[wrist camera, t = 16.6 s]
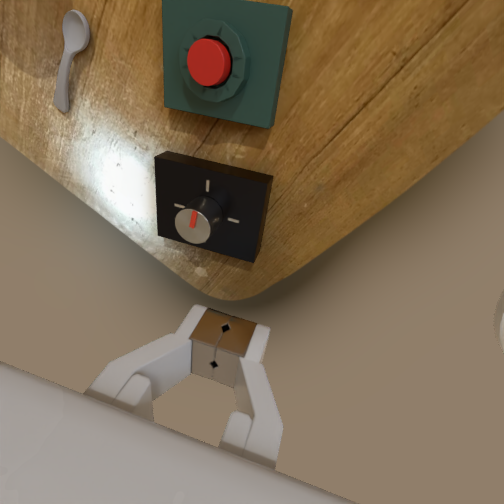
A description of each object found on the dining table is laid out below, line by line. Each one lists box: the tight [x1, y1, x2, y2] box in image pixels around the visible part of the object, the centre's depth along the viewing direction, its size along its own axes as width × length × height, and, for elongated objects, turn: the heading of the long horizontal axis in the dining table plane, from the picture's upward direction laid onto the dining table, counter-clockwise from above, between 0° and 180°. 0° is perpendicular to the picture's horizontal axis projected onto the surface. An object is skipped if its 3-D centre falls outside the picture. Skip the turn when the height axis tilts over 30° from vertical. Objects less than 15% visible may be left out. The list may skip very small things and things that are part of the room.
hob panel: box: [154, 151, 273, 263], centre depth 39 cm, size 14×11×3 cm
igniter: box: [162, 0, 293, 129], centre depth 30 cm, size 12×10×4 cm
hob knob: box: [175, 196, 223, 244], centre depth 36 cm, size 4×4×4 cm
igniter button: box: [187, 39, 231, 86], centre depth 28 cm, size 4×4×2 cm
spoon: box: [54, 10, 90, 113], centre depth 36 cm, size 3×12×2 cm, turn 143°
